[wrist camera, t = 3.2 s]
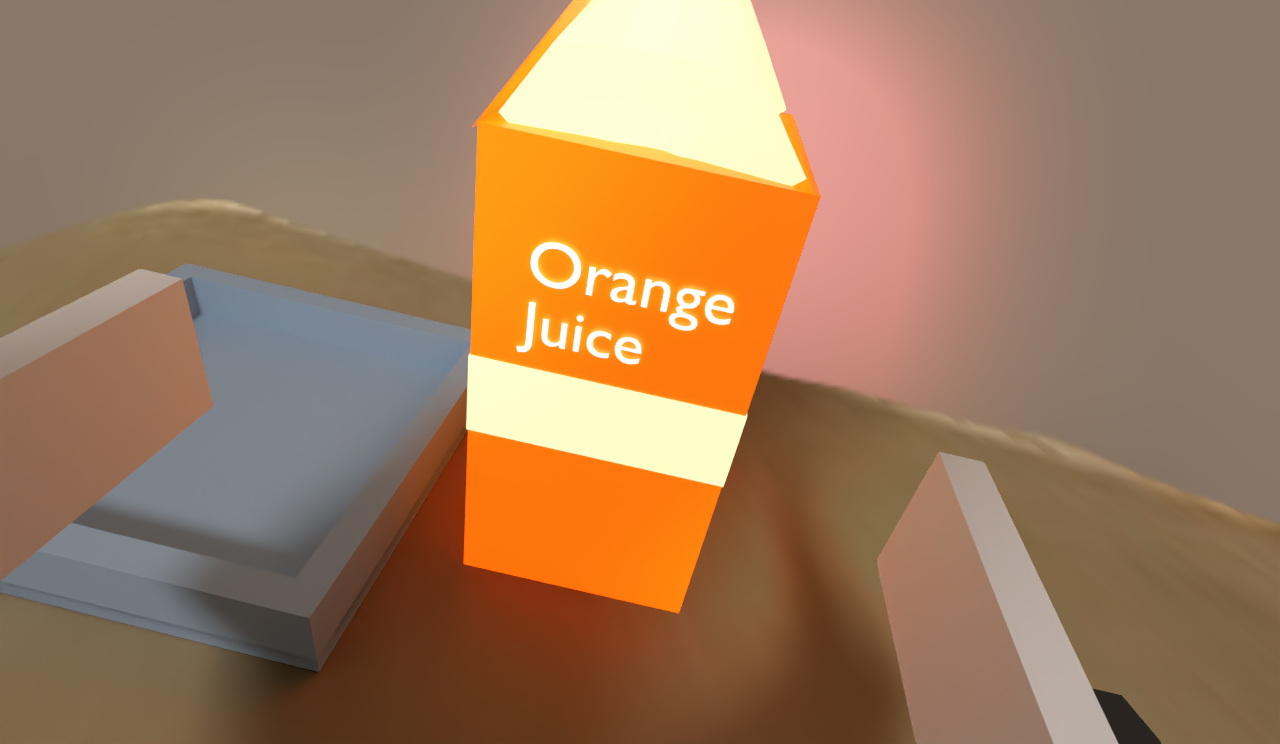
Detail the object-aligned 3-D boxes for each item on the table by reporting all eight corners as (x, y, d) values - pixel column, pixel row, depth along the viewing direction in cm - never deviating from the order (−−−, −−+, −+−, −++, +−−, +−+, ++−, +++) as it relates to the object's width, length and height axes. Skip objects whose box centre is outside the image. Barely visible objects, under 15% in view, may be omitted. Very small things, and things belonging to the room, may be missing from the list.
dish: (498, 381, 30) (501, 336, 29) (319, 672, 18) (308, 618, 16) (197, 310, 31) (186, 263, 29) (-184, 546, 18) (-235, 483, 17)
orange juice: (697, 449, 29) (857, -88, 18) (682, 616, 21) (939, -124, 10) (528, 411, 29) (584, -146, 18) (456, 564, 22) (474, -222, 11)
